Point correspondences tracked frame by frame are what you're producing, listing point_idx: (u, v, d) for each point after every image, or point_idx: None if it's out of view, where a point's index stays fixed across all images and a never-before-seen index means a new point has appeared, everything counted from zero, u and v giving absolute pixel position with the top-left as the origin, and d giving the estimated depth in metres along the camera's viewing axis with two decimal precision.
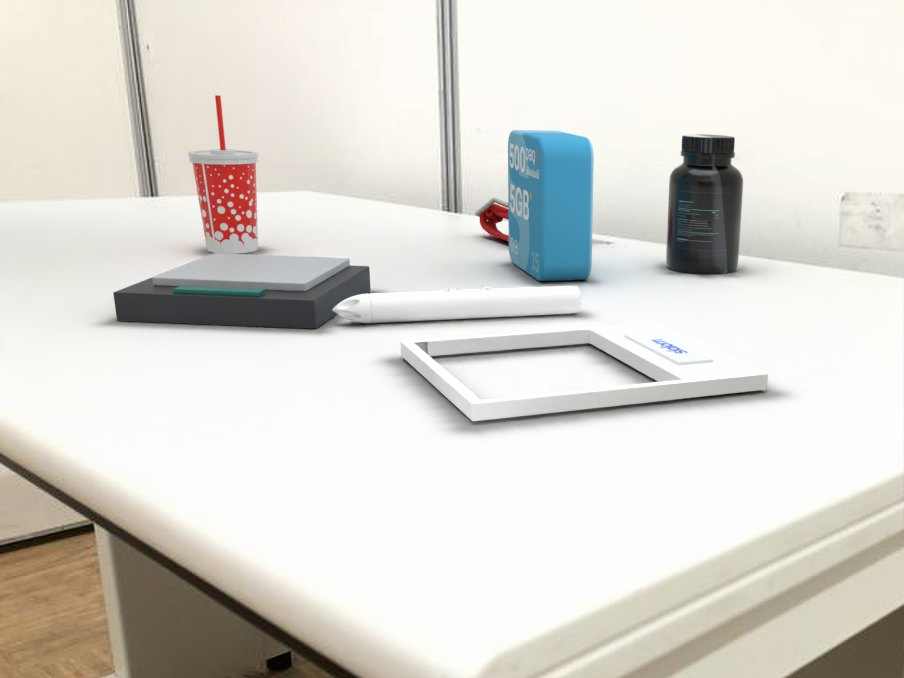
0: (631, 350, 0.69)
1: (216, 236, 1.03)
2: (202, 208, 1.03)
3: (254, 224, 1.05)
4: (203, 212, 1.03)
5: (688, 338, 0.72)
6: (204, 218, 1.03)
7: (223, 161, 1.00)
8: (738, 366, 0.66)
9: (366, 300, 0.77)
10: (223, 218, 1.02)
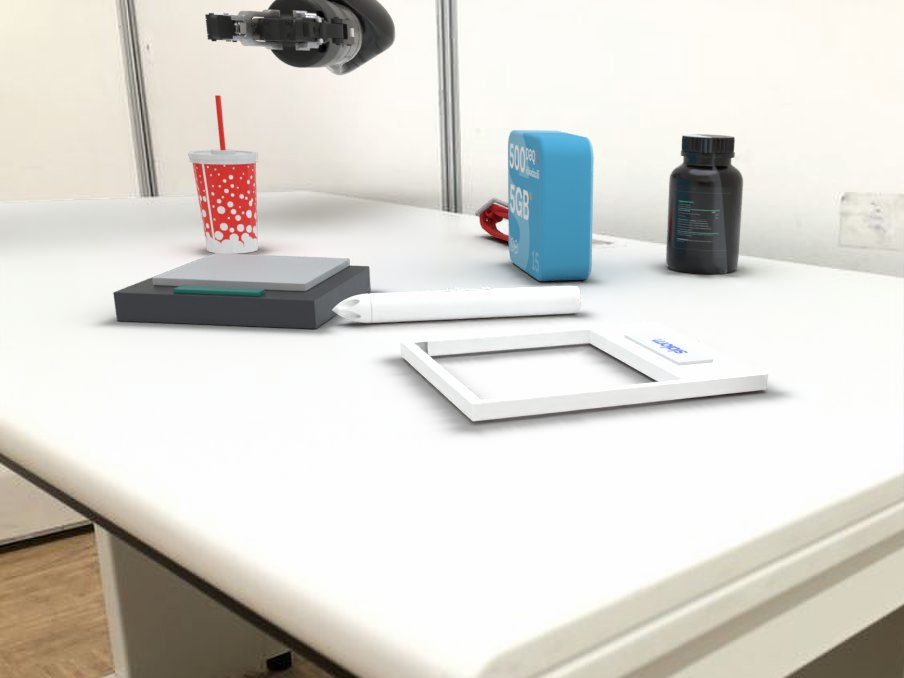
0: (631, 350, 0.69)
1: (216, 236, 1.03)
2: (202, 208, 1.03)
3: (254, 224, 1.05)
4: (203, 212, 1.03)
5: (688, 338, 0.72)
6: (204, 218, 1.03)
7: (223, 161, 1.00)
8: (738, 366, 0.66)
9: (366, 300, 0.77)
10: (223, 218, 1.02)
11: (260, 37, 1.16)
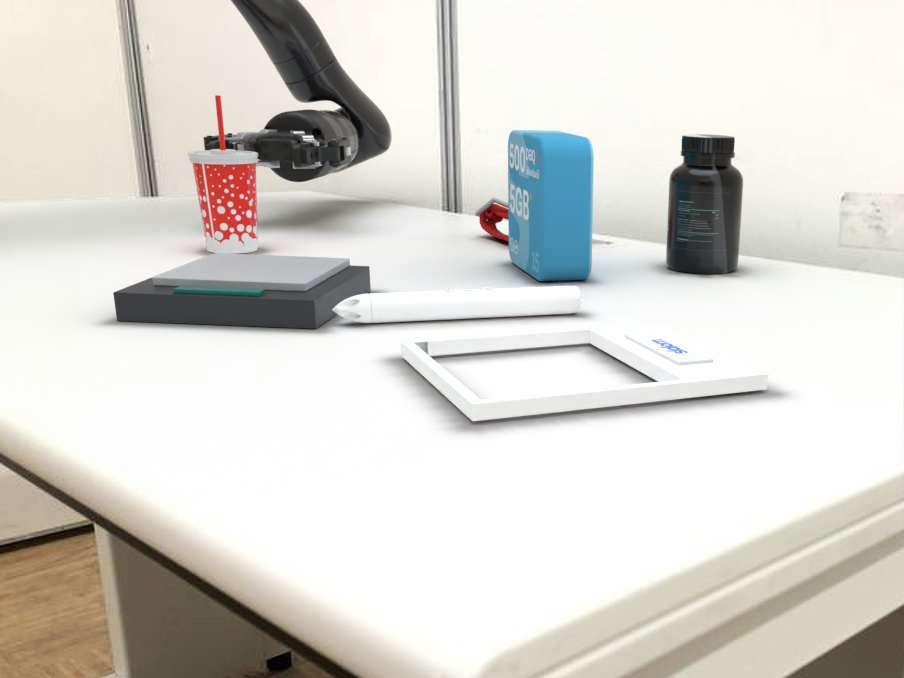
0: (631, 350, 0.69)
1: (216, 236, 1.03)
2: (202, 208, 1.03)
3: (254, 224, 1.05)
4: (203, 212, 1.03)
5: (688, 338, 0.72)
6: (204, 218, 1.03)
7: (223, 161, 1.00)
8: (738, 366, 0.66)
9: (366, 300, 0.77)
10: (223, 218, 1.02)
11: (258, 157, 1.17)
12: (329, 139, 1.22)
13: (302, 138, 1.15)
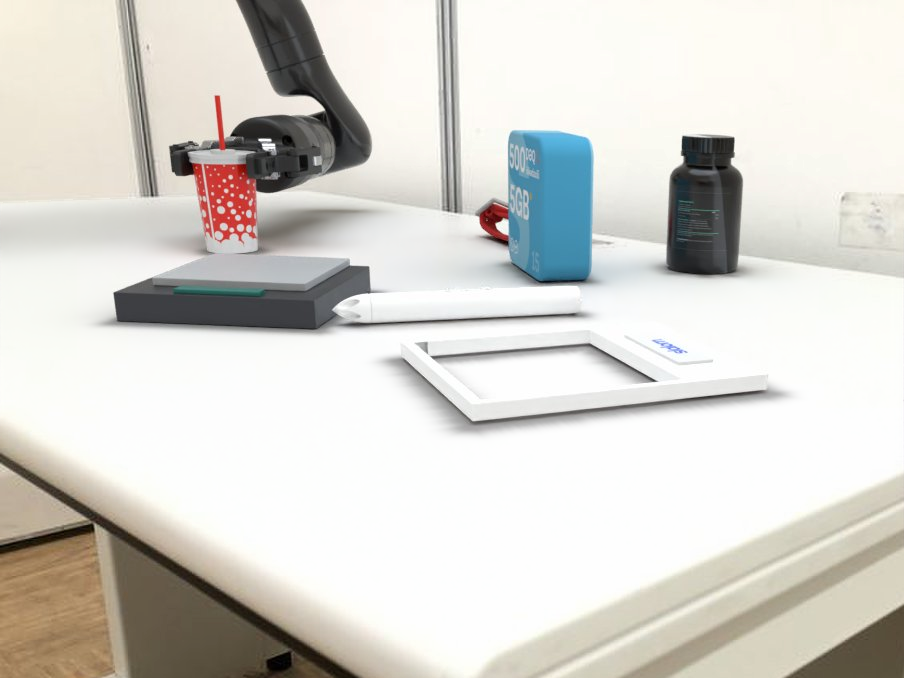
0: (631, 350, 0.69)
1: (215, 236, 1.03)
2: (202, 208, 1.03)
3: (254, 224, 1.05)
4: (203, 212, 1.03)
5: (688, 338, 0.72)
6: (204, 218, 1.03)
7: (223, 161, 1.00)
8: (738, 366, 0.66)
9: (366, 300, 0.77)
10: (223, 218, 1.02)
11: None
12: (301, 147, 1.13)
13: (262, 146, 1.06)
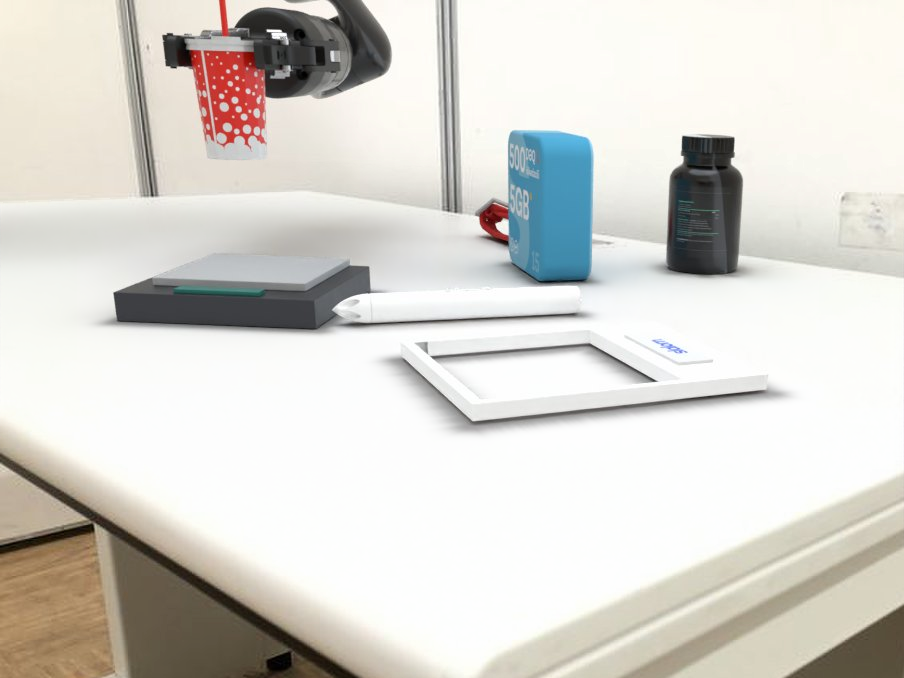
0: (631, 350, 0.69)
1: (218, 139, 0.88)
2: (202, 106, 0.87)
3: (263, 126, 0.89)
4: (203, 110, 0.87)
5: (688, 338, 0.72)
6: (204, 118, 0.88)
7: (226, 47, 0.85)
8: (738, 366, 0.66)
9: (366, 300, 0.77)
10: (227, 117, 0.87)
11: None
12: None
13: (271, 36, 0.90)
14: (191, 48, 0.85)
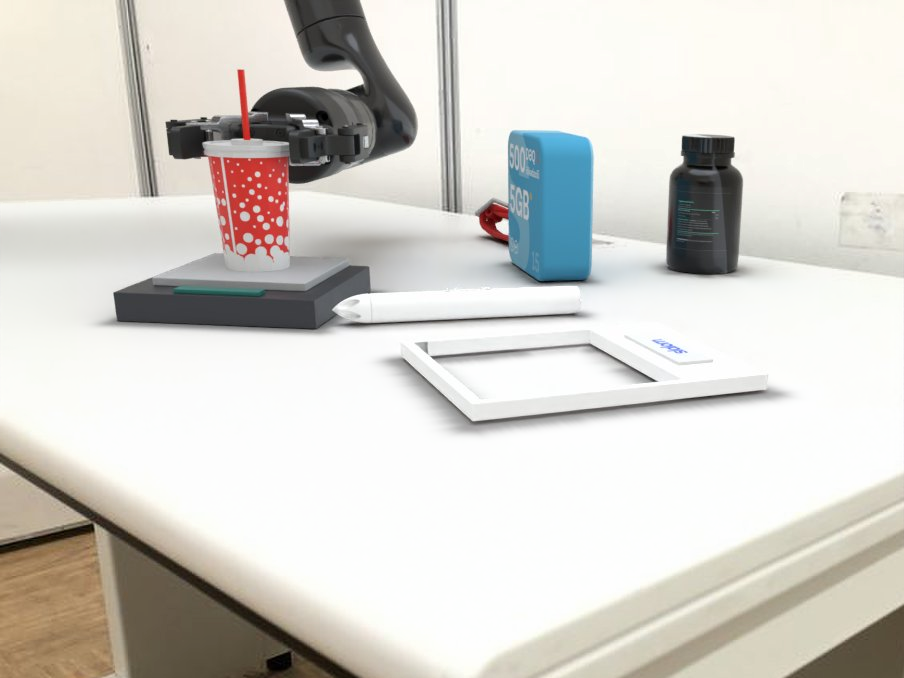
0: (631, 350, 0.69)
1: (238, 249, 0.81)
2: (220, 214, 0.80)
3: (286, 234, 0.82)
4: (221, 219, 0.81)
5: (688, 338, 0.72)
6: (223, 227, 0.81)
7: (248, 154, 0.78)
8: (738, 366, 0.66)
9: (366, 300, 0.77)
10: (248, 227, 0.80)
11: None
12: (339, 126, 0.90)
13: (302, 123, 0.83)
14: (210, 154, 0.78)
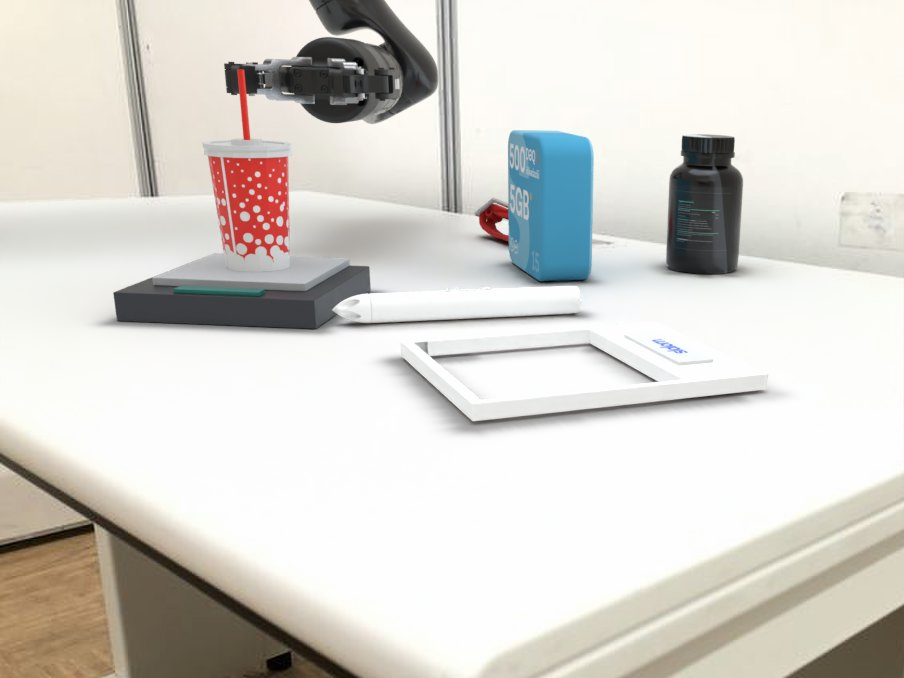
0: (631, 350, 0.69)
1: (238, 249, 0.81)
2: (220, 214, 0.80)
3: (286, 234, 0.82)
4: (221, 219, 0.81)
5: (688, 338, 0.72)
6: (223, 227, 0.81)
7: (248, 154, 0.78)
8: (738, 366, 0.66)
9: (366, 300, 0.77)
10: (248, 227, 0.80)
11: (289, 90, 0.97)
12: (373, 72, 1.02)
13: (343, 65, 0.95)
14: (210, 154, 0.78)
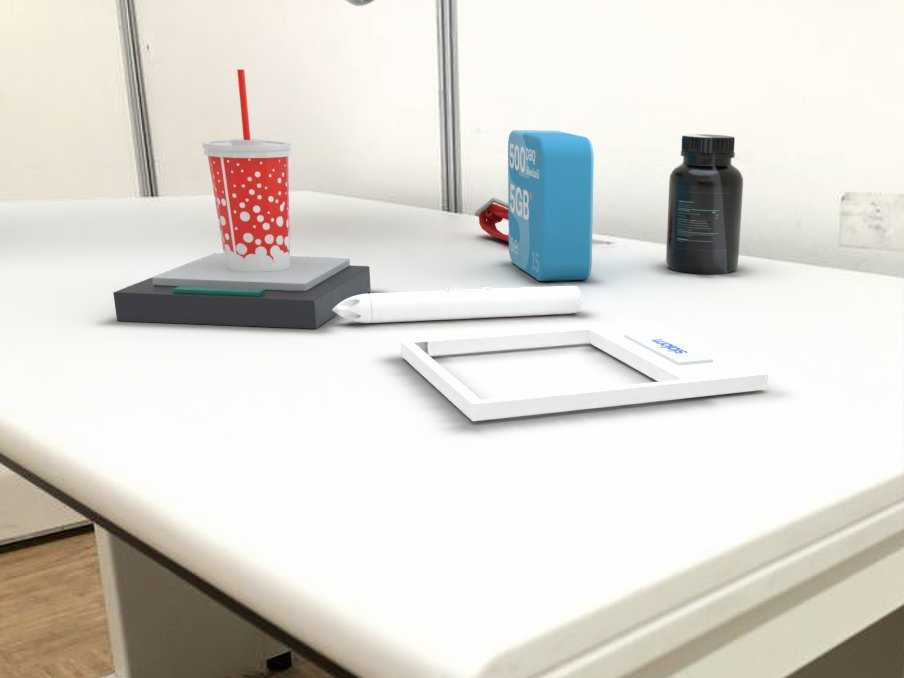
0: (631, 350, 0.69)
1: (238, 249, 0.81)
2: (220, 214, 0.80)
3: (286, 234, 0.82)
4: (221, 219, 0.81)
5: (688, 338, 0.72)
6: (223, 227, 0.81)
7: (248, 154, 0.78)
8: (738, 366, 0.66)
9: (366, 300, 0.77)
10: (248, 227, 0.80)
11: None
12: None
13: None
14: (210, 154, 0.78)
